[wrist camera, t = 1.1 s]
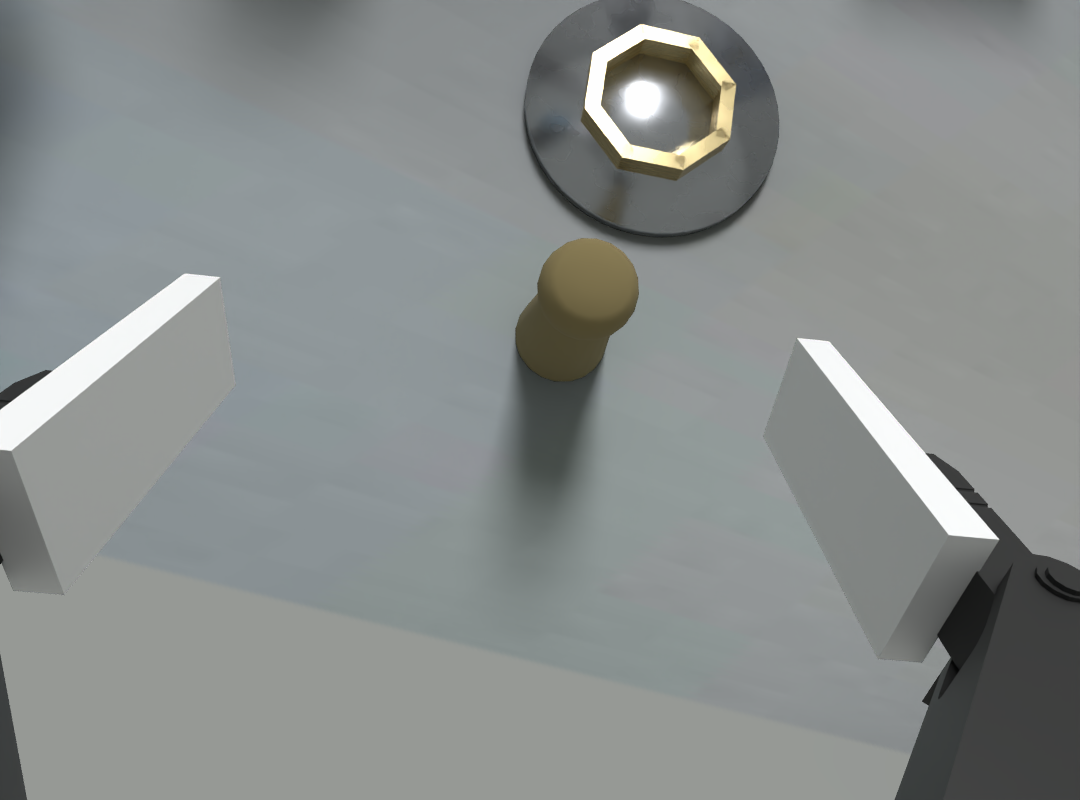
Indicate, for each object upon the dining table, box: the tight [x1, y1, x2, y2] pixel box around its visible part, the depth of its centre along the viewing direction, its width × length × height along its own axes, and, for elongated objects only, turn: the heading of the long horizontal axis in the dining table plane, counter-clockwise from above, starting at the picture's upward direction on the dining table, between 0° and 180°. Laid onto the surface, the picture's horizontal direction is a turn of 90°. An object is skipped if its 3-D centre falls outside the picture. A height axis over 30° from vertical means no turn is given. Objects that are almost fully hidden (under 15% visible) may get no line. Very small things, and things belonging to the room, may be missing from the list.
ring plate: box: [525, 0, 779, 237], centre depth 45 cm, size 18×18×2 cm
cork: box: [516, 238, 639, 381], centre depth 37 cm, size 6×6×11 cm
